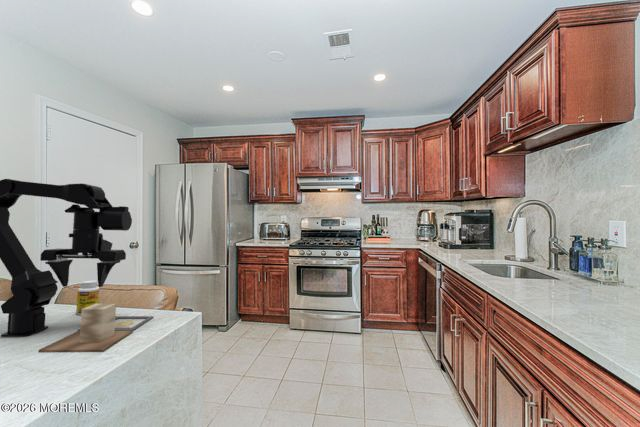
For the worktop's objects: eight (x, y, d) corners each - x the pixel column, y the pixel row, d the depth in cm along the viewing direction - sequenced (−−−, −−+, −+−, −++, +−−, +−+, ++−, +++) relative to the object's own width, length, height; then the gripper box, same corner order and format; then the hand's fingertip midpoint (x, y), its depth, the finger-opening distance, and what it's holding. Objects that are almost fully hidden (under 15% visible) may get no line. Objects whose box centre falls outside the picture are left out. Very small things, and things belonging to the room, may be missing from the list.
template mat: (77, 332, 78) (77, 330, 78) (106, 318, 90) (106, 316, 90) (131, 332, 79) (132, 330, 79) (153, 318, 91) (153, 316, 91)
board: (38, 352, 66) (38, 350, 66) (78, 333, 78) (78, 330, 78) (103, 352, 67) (103, 349, 67) (132, 333, 79) (132, 330, 79)
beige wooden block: (79, 342, 70) (81, 309, 71) (94, 334, 75) (96, 303, 76) (101, 342, 71) (103, 309, 71) (114, 334, 76) (116, 303, 76)
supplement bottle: (74, 316, 90) (76, 283, 91) (77, 312, 95) (79, 280, 96) (97, 314, 94) (99, 282, 94) (98, 309, 98) (100, 279, 99)
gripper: (137, 230, 89) (134, 281, 88) (72, 228, 88) (69, 280, 87) (115, 230, 78) (111, 289, 77) (40, 229, 76) (36, 288, 76)
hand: (83, 286), depth 80 cm, fingers open, 9 cm apart
